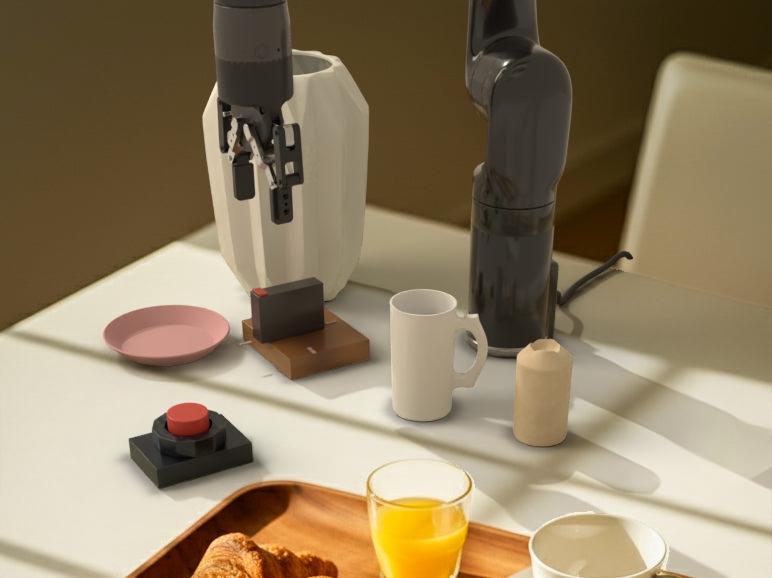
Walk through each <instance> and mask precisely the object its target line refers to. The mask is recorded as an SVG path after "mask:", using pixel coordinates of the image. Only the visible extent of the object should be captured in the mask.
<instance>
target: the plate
mask: <svg viewBox="0 0 772 578" xmlns="http://www.w3.org/2000/svg"><path fill="white" fill-rule="evenodd" d="M230 331H231V326H230V323H229V321H228V320H227V318H226V317H225V316H223V315H222V314H220V313H218V312H216V311H214V310H211V309H209V308H205V307H202V306H196V305H188V304H187V305H186V304H162V305H160V304H159V305H154V306H153V305H152V306H147V307H142V308H138V309H134V310H131V311H129V312H126V313H123V314H121V315H119V316H116V317H115V318H113V319H112V320H110V321H109V322H108V323H107V325H106V326H105V327H104V329H103V331H102V339H103V341H104V343H105V344H106V345H107V346H108V348H110V349H112V351H115V352H116V353H118V354H119V355H120V356H122V357H124V358H126V359H127V360H129V361H131V362H134V363H137V364H141V365H146V366H154V367H155V366H156V367H158V366H159V367H168V366H170V367H171V366H179V365H184V364H188V363H192V362H195V361H197V360H200V359H202V358H204V357H206V356H208V355H209V354H210V353H212V352H214V350H215V349H216V348H218V346H219V345H220V344H222V343H223V342H224V341H225V340H226V338H228V336H229V334H230Z"/></svg>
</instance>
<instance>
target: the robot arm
mask: <svg viewBox="0 0 772 578" xmlns="http://www.w3.org/2000/svg"><path fill="white" fill-rule="evenodd" d="M537 10H538V9H537V0H468V16H467V33H466V34H467V36H466V50H465V68H464V69H465V71H464V79H465V90H466V94H467V98H468V101H469V103H470V105H471V106H472V108H473V110H474V112H476V113H477V115H478V116H479V117H480V118H481V119H482V120H484V121H485V122H486V123H487V132H486V146H485V148H486V149H485V158H484V161H483V162H481V163H479V164H478V165H477V166H476V167H475V168H474V170H473V172H472V175H471V176H472V179H471V203H470V236H469V237H470V239H469V266H468V267H469V269H468V295H467V297H468V298H467V309H466V308H465V307H464V311H463V317H465V316H466V315H467V314H478V316H479V321H480V323H481V325H482V327H483V330H484V332H485V335H486V338H487V343H488V352H487V356H493V357H500V358H517V355H518V353H519V352H521V351H522V350H523V349H524V348H525V347H527V346H528V345H529V344H530V343H534V342H536V341H537V340H539V339H553V340H555V325H556V312H557V306H561V305H563V304H565V303H566V302H567V301H568V300H569V299H570V298H571V297H572V296H573V295H574V293H576V291H577V290H578V289H580V288H581V287H582V286H584V285H585V284H586V283H587V282H589V281H591V280H592V279H594V278H595V277H597V276H599V275H600V274H602V273H604V272H605V271H607V270H608V269H610V268H611V267H612V266H613V265H615V264H616V263H617V262H619V260H621V259H622V258H626V260H629V261H631V260H632V261H633V260H634V257H633V254H631V252H629V251H627V250H621V251H619V252H618V253H615V254H614V255H613V256H612V257H611V258H610V259H608V260H607V261H606V262H605V263H603V264H602V265H600V266H599V267H597V268H595V269H593V270H591V271H590V272H588V273H587V274H586V275H584V276H582V277H581V278H580V279H578V280H577V281H575V282H574V283H573V284H572V285H571V286H570V287H568V288H567V290H566V291H565V292H564V293H563V295H562V292H560V290H558V286H559V285H558V284H559V283H558V282H559V271H560V269H559V268H560V265H559V263H558V262H557V261H556V260H555V259H553V251H554V235H555V221H556V208H557V207H556V205H557V192H558V186H559V182H560V180H561V178H562V177H563V174H564V172H565V168H566V163H567V158H568V148H569V139H570V129H571V122H572V112H573V86H572V79H571V75H570V72H569V70H568V68H567V66H566V65H565V62H564V61H562V60H561V58H560V57H558V56H557V55H555V54H554V53H553V52H551V51H549V50H548V49H546V48H544V47H543V46H541V43H540V37H539V29H538V14H537V13H538V12H537ZM212 15H213V16H212V32H213V33H212V34H213V45H214V47H213V48H214V58H215V59H214V60H215V61H214V62H215V73H216V82H217V88H218V96H219V97H217V112H218V131H219V148H220V151H221V153H222V154H224V153H227V159H228V162H229V163H230V164H232V177H233V190H234V197H235V198H236V199H237V200H239V201H243V200H248V199H252V198H254V197H255V180H254V164H253V163H252V162H249V161H250V160H252V159H253V157H254V156H255V159H256V162H257V165H258V167H259V168H260V169H263V170H264V171H265V174H266V177H267V180H268V183H269V186H270V188H269V194H270V211H271V221H272V222H273V223H275V224H276V225H280V224H285V223H289V222H291V221H292V220H293V201H292V187H293V186H295V185H300V184H303V183H304V174H303V160H302V146H301V132H300V126H299V124H298V123H292V124H285V123H284V119H283V115H282V110H281V107H282V105H283V104H284V103H285V102H286V101H289V100H290V99H291V98H292V96H293V94H294V84H293V62H292V49H293V44H292V43H293V42H292V25H291V18H290V11H289V6H288V0H213V14H212ZM229 131H230V135H229V138H228V135H227V133H228V132H229ZM271 155H274V156H271ZM290 162H293V169H294V173H293V170H292V167H291V164H290ZM275 166H276V175H275V172H274V169H273V167H275ZM465 341H466V343H467V345H468V346H470V348H472V349H473V350H475V351H477V352H478V345H477V341H476V339H475V337H474V335H473V334H472V333H471V332H470V331H468V330H465Z"/></svg>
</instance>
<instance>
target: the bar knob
mask: <svg viewBox="0 0 772 578" xmlns="http://www.w3.org/2000/svg"><path fill="white" fill-rule="evenodd" d="M249 298H250V311H251V318H252V329H253V337H254V338H255V339H256V340H257V341H259V342H260V343H261V344H264V343H268V342H272V341H276V340H280V339H284V338H288V337H292V336H296V335H301V334H305V333H309V332H313V331H317V330H321V329H325V322H324V307H325V301H324V289H323V283H322V282H321V281H319V280H318V279H316V278H315V277H311V278H307V279H302V280H298V281H293V282H289V283H284V284H280V285H275V286H271V287H267V288H260V287H259V288H255V289H252V291H250V297H249Z"/></svg>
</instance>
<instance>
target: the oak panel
mask: <svg viewBox="0 0 772 578" xmlns="http://www.w3.org/2000/svg"><path fill="white" fill-rule="evenodd" d="M324 322H325V329H321V330H317V331H313V332H309V333H305V334H301V335H296V336H292V337H288V338H284V339H280V340H276V341H272V342H268V343H264V344H261V343H260V342H259V341H257V340H256V339H255V338H254V337H253V329H252V317H250V318H246V319H241V328H242V340H243V341H244V342H240V343H239V346H241V347H243V346H247V345H248V346H250V347H251V348H252V349H253V350H255V351H256V352H257V353H258V354H259V355H260V356H262V357H263V358H264V359H266V360H267V361H268V363H270V364H272V365H273V366H274V368H276V369H277V370H279V371H280V372H281V373H283V375H285V376H286V377H287V378H288V379H289V380H290V381H293V380H296V379H300V378H304V377H308V376H312V375H315V374H319V373H323V372H327V371H331V370H335V369H338V368H342V367H346V366H350V365H353V364H358V363H362V362H366V361H369V360H370V359H371V352H370V351H371V350H370V349H371V348H370V347H371V346H370V344H371V343H370V342H371V341H370V338H369V337H367V336H366V335H364V334H363V333H361V331H358V329H356V328H355V327H354V326H352V325H350V324H349V323H348V322H346V321H345V320H343V319H342V318H340V317H339V316H338V315H336V314H335V313H334V312H332V311H331V310H329V308H327V307H325V306H324Z"/></svg>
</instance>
